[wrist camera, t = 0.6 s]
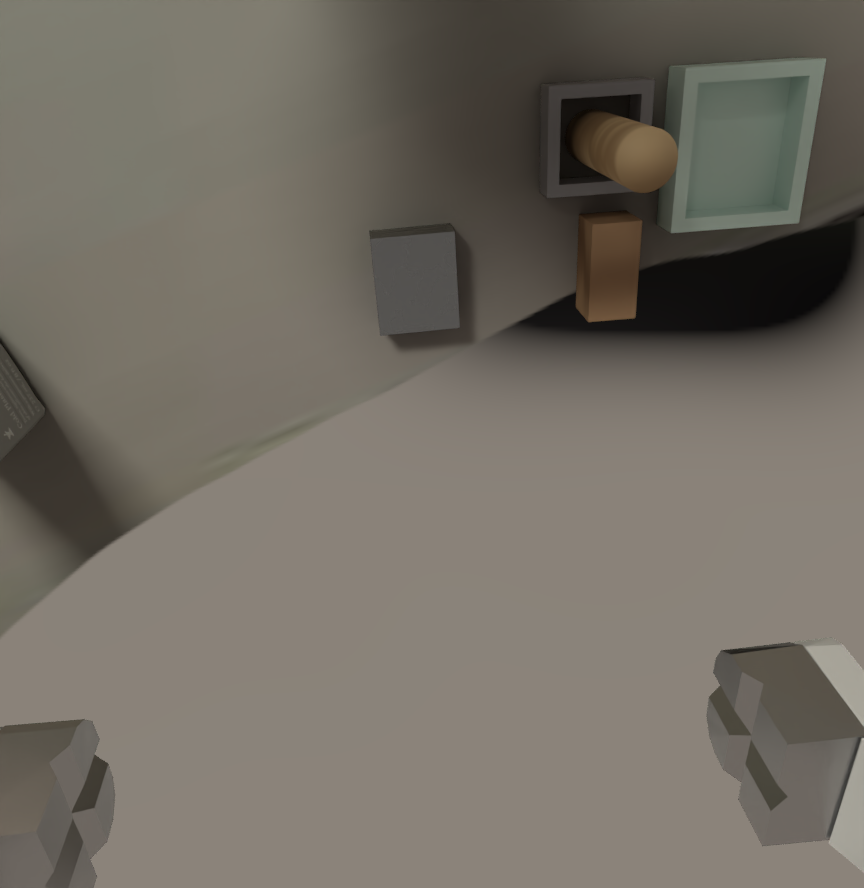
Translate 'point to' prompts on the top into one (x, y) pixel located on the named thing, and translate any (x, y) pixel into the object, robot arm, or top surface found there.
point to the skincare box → (15, 405)
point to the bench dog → (608, 265)
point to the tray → (739, 142)
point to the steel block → (415, 278)
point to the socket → (551, 122)
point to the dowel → (622, 149)
